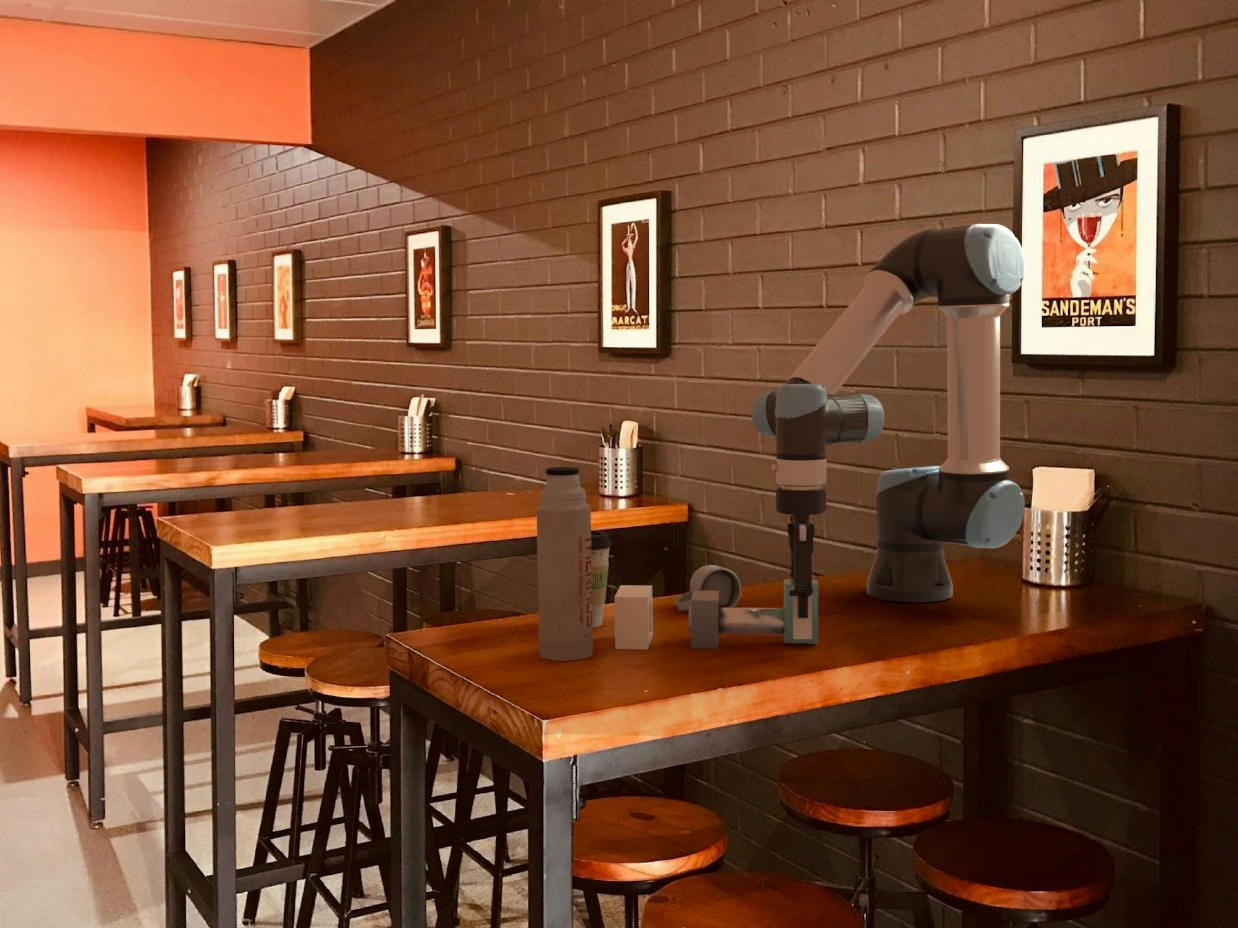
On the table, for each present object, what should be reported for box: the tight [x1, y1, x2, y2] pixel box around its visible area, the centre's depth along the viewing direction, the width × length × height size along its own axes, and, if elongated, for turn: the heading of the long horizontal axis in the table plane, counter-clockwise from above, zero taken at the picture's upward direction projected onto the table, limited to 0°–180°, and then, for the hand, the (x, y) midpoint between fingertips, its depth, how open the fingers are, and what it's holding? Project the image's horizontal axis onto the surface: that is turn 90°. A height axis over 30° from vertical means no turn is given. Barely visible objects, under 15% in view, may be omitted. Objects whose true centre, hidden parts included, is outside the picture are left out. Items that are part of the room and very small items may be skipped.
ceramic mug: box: [674, 564, 742, 612], centre depth 220 cm, size 11×8×8 cm
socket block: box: [614, 584, 654, 650], centre depth 196 cm, size 5×9×8 cm, turn 174°
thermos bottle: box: [536, 466, 594, 662], centre depth 188 cm, size 8×8×28 cm
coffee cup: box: [591, 529, 613, 629], centre depth 209 cm, size 10×10×15 cm
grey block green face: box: [688, 578, 819, 644], centre depth 194 cm, size 20×4×9 cm, turn 84°
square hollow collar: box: [690, 591, 720, 650], centre depth 195 cm, size 4×7×7 cm, turn 174°
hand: (800, 629), depth 194 cm, fingers open, 11 cm apart
